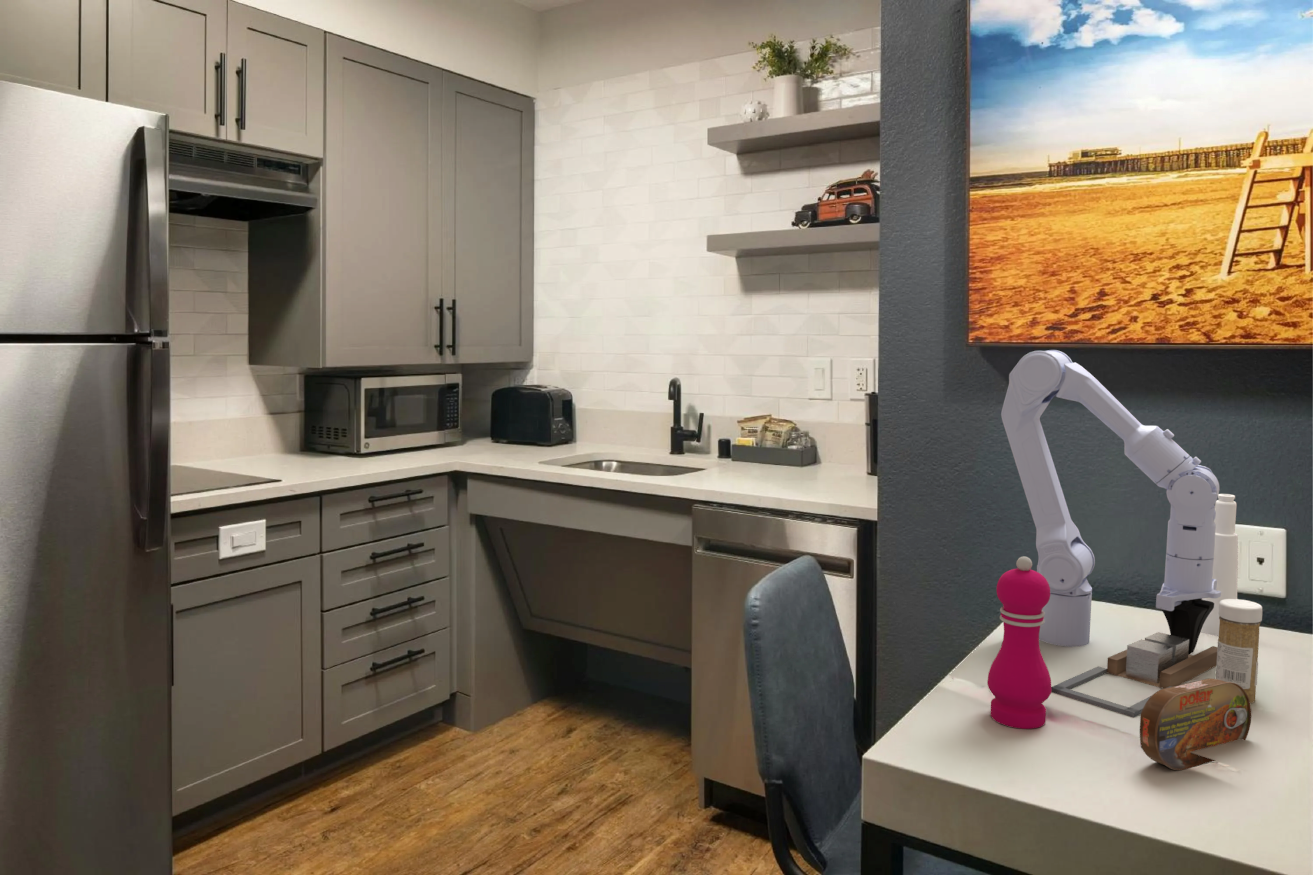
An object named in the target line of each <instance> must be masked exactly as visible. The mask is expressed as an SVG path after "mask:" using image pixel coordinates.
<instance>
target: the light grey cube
mask: <svg viewBox="0 0 1313 875" xmlns="http://www.w3.org/2000/svg"><path fill="white" fill-rule="evenodd" d="M1126 647H1127V648H1126V650H1127V661H1126V675H1128V676H1132V677H1135V678H1139V679H1143V680H1146V681H1150V682H1153V683H1159V682H1160V672H1161V671H1163V670H1165V669H1167V668H1169V667H1171V666H1172V649H1173V647H1171V646H1167V645H1162V644H1158V643H1154V642H1150V641H1146V640H1145V639H1142V638H1141V639H1139V640H1137V641H1134V642H1132V643H1130V644H1128V645H1126Z"/></svg>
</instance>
